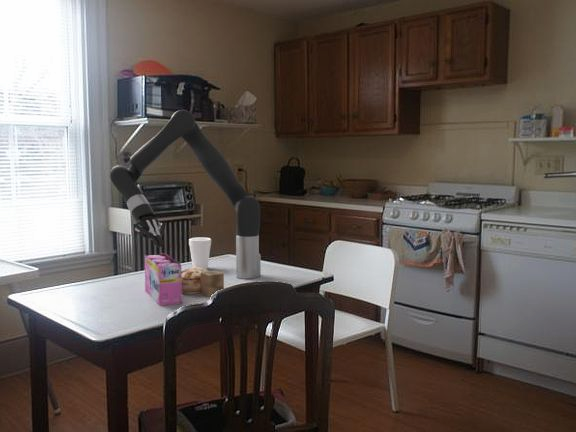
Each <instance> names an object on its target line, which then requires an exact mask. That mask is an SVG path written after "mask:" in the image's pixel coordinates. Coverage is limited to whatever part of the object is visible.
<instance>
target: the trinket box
mask: <svg viewBox="0 0 576 432" xmlns="http://www.w3.org/2000/svg"><path fill="white" fill-rule="evenodd" d="M208 271H209V270H208V268H207V269H205V268H201V267H194V268H193V267H190V268H187V269H184V270H182V273H181V280H182V294H187V295H194V294H201V272H208Z"/></svg>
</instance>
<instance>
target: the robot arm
mask: <svg viewBox="0 0 576 432" xmlns="http://www.w3.org/2000/svg"><path fill="white" fill-rule="evenodd" d="M180 138H181V139H183V140H184V142H185V143H186V144H187V145H188V146H189V148H190V149H191V150H192V152H193V155H194V156H195V157H196V159H197V162H198V163H199V164H200V166H201V167H202V169H203V170H204V171H205V172H206V174H207V175H208V177H209V178H211V180H212V181H213V183H215V185H216V186H217V187H218V188H219V189H220V190H221V191H222V192H223V193H224V195H225V196H226V197H227V198H228V200H229V201H230V203H231V205H232V207H233V208H234V211H235V212H236V216H237V218H236V221H237V222H236V223H237V225H236V229H235V231H236V232H235V248H236V249H235V251H236V252H235V255H236V257H235V261H236V262H235V264H236V265H235V267H236V268H235V269H236V270H235V275H236V278H238V279H245V280H246V279H248V280H249V279H257V278H259V277H261V275H262V274H261V270H262V269H261V267H262V266H261V264H262V263H261V262H262V261H261V258H262V257H261V253H259V252H260V251H259V250H260V249H259V248H260V247H259V246H260V242H259V240H260V239H259V238H260V236H259V235H260V234H259V233H260V227H261V206H260V203H259V201H258V200H257V198H255V197H253V196H251V194H249V193H248V191H246V189H245V188H244V187H243V186H242V184H241V183H240V182H239V180H238V178H237V176H236V175H235V172H234V171H233V169H232V166H231V165H230V164H229V162H228V161H227V159H226V158H225V156H223V154H222V153H221V151H220V150H219V149H218V148H217V147H216V146H215V144H213V143H212V142H211V141H210V140H209V139H208V138H207V137H206V135H205V134H204V133H203V131H202V130H201V129H200V127H199V125H198V123H197V122H196V119H195V117H194V115H193V114H192V113H191V112H190V111H188V110H187V109H180V110H177V111H175V112H174V113H173V114H172V115H171V118H170V119H169V121H167V123H166V125H164V127H163V128H162V129H160V131H159V132H158V133H157V134H155V136H153V137H152V138H151V139H149V140H148V141H147V142H146V143H145V144H143V145H142V146H141V147H140V148H139V149H137V151H135V152H134V153H133V154H132V155H131V156H130V158H129V163H130V165H129V167H128V168H127V167H125V166H123V165H115V166H113V167H112V168H111V169H110V172H109V178H110V180H111V182H112V184H113V186H115V188H116V189H117V191H118V192H119V193H120V194H121V196H122V199H123V201H124V202H125V203H126V205H127V209H128V210H129V213H130V215H131V216H132V218H133V220H134V221H135V223H136V226H135V228H134V230H133V231H134V232H135V233H136V234H138V235H140V236H142V238H145V239H146V240H149V239H150V240H152V242H153V244H154V245H155V246H156V247H157V248H161V247H163V245H164V240H163V239H162V236H163V234H164V233H165V229H166V226H167V225H166V222H164V221H163V222H160V221H159V219H158V218H156V214H155V211H154V210H153V208H152V206H151V205H150V203H149V201H148V199H147V198H146V197H145V195H144V194H143V192H142V189H141V188H140V187H139V186H138V185H137V184H136V183H137V182H138V180H139V179H140V178H141V176H142V175H143V172H144V171H145V170H146V169H147V168H148V167H150V165H152V164H153V163H154V162H155V161H156V160H157V159H158V158H159V157H160V156H161V155H162V154H163V153H164V151H166V149H167V148H168V147H170V146H171V145H172V144H173V143H175V142H176V141H177V140H178V139H180Z"/></svg>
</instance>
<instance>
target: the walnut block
mask: <svg viewBox="0 0 576 432" xmlns="http://www.w3.org/2000/svg"><path fill="white" fill-rule="evenodd" d="M224 276H225V275H224V273H223V272H221V271H218V270H208V272H201V293H200V295H202V296H204V297H206V298H210V297H211V295H212V294H214V293H215V292H216V291H218V290H221V289H224V290H225V287H224V286H225V284H224V283H225V281H224V280H225V278H224ZM211 298H212V297H211Z"/></svg>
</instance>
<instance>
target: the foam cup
mask: <svg viewBox="0 0 576 432" xmlns="http://www.w3.org/2000/svg"><path fill="white" fill-rule="evenodd" d="M211 245H212V238H210V237H199V236H198V237H191V238H189V239H188V246H189V250H190V256H191V263H192V268H194V267H201V268H205V269H207V270H208V267H209V262H210V252H211Z"/></svg>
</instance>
